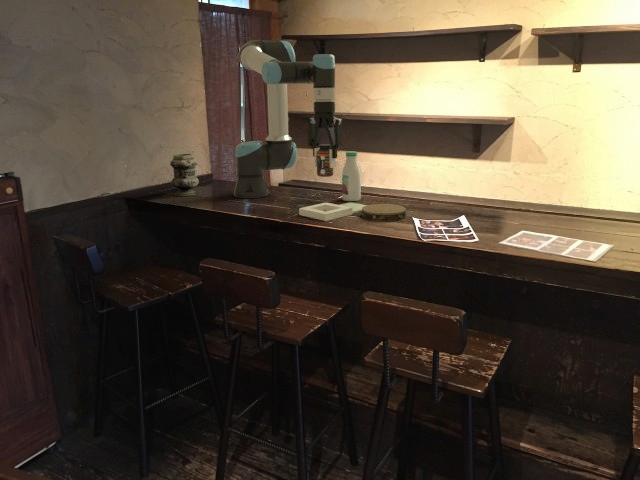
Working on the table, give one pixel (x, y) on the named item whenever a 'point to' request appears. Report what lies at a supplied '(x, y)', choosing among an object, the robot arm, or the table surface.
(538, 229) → the table surface
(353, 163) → the milk bottle
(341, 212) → the collar
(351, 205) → the tile
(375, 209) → the tambourine
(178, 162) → the apothecary jar
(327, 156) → the supplement bottle
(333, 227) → the table surface
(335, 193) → the table surface
